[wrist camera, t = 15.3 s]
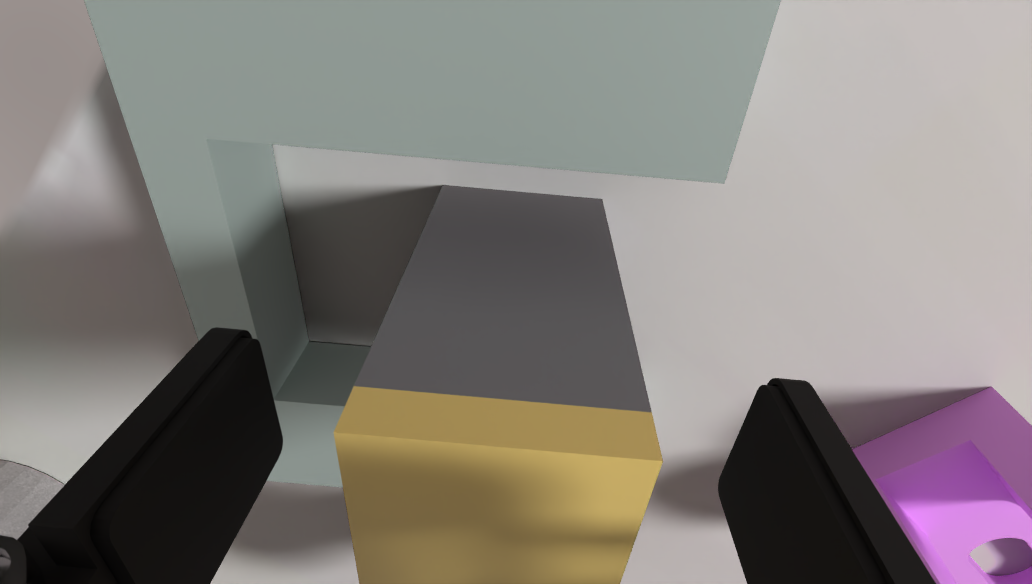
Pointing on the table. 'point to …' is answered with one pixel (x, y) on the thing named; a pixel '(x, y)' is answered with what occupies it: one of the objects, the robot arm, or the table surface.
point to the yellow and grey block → (501, 404)
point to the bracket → (958, 484)
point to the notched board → (397, 130)
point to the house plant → (23, 496)
